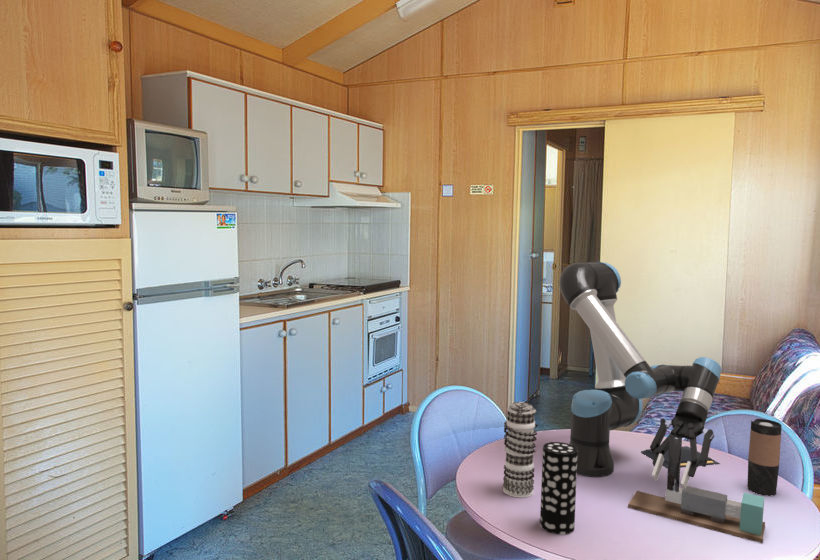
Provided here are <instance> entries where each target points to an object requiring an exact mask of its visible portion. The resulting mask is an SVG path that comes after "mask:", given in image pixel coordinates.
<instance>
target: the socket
mask: <svg viewBox="0 0 820 560" xmlns="http://www.w3.org/2000/svg"><path fill="white" fill-rule="evenodd" d="M764 507H765V496H763V495H758V494H754V493H753V494H752V493H747V492H743V494H742V499H741V516H740V531H744V532H748V533H752V534H756V535H760V536H761V531H762V524H763V522H764V520H763V519H764V510H765V509H764Z"/></svg>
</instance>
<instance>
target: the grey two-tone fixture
mask: <svg viewBox="0 0 820 560" xmlns="http://www.w3.org/2000/svg"><path fill="white" fill-rule="evenodd" d="M682 444H683V438H682V437H680V436H677V435H670V438H669V456H668V469H667V474H666V477H667V479H666V488H665V491H664V492H665V493H664V497H665V500H666V501H670V502H674V503H678V504H681V498H682V490H683V488H682V487H680V483H681V481H680V480H681V468H680V466H681V449H682V447H683V446H682ZM741 502H742V501H741ZM741 502H740V501H736V500H732V499H728V498H727V500H726V504H725V515H726V516H730V517H734V518H738V519H740V516H741Z"/></svg>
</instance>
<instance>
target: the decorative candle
mask: <svg viewBox="0 0 820 560" xmlns="http://www.w3.org/2000/svg"><path fill="white" fill-rule="evenodd" d="M506 411H507V414H506V417H507V418H506V420H505V421H504V423H503V432H504V433H505V434H504V438H503V439H504V441H503V444H504V446H505V447H504V452H506V453H505V460H504V461H505V462H504V463H505V464H504V465H503V469H504V470H503V475H504V476H503V479H502V480H503V482H502V483H503V485H502V486H503V488H502V489H503V493H505V495H507V496H510V497H512V498H513V497H514V498H520V499H524V498H529V497H532V496H533V495H534V490H535V488H534V487H535V486H534V484H535V480H534V478H535V468H534V463H535V462H534V455H535V453H536V449H535V448H536V447H537V444H536V443H534V442H536V441H537V437H536V436H537V435H538V432H537V431H536V430H534V429H536V428H538V424H536V421H535V418H536V417H535V413H537V410H536V409H535V408H534V407H533V405H532V404H531V403H528V402H524V401H515V402H512V403H511V404H510V406H507V407H506Z"/></svg>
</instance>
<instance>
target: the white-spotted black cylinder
mask: <svg viewBox="0 0 820 560" xmlns="http://www.w3.org/2000/svg"><path fill="white" fill-rule="evenodd" d="M577 456H578V449H577V448H576V447H575V446H573V445H571V444H569V442H568V443H567V442H563V441H562V442H560V441H549V442H546V443H544V444H543V445H542V461H541V463H542V464H541V466H542V467H541V488H540V489H541V492H540V511H539V512H540V514H539V515H540V516H539V518H540V519H539V525H540V526H539V527H541V529H542V530H544V531H546V532H548V533H551V534H554V535H568V534H571V533H573V532H574V530H575V522H576V521H575V519H576V499H577V497H576V496H577V477H578V476H577V475H578V474H577Z"/></svg>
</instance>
